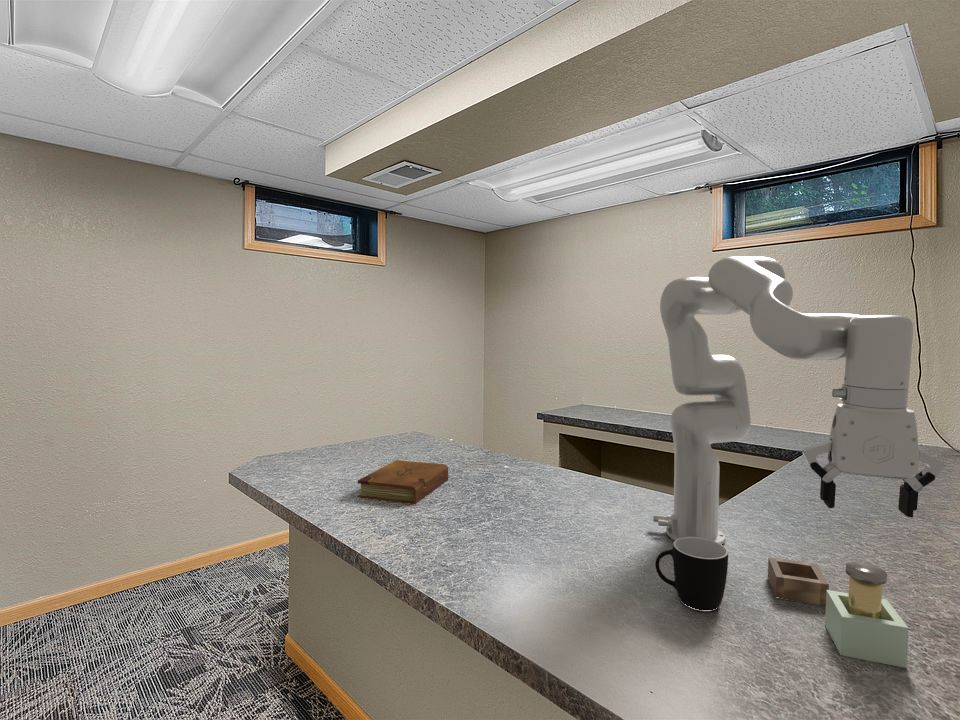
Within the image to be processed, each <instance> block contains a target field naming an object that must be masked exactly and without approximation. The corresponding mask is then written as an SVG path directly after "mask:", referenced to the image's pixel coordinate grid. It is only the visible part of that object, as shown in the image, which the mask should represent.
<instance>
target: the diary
mask: <svg viewBox="0 0 960 720" xmlns="http://www.w3.org/2000/svg"><path fill="white" fill-rule="evenodd" d="M448 480H449V466H448V465H447V464H442V463H432V462H421V461H411V460H401V459H400V460H398V459H395V460H394V461H392V462H390V463H388V464H386V465H384V466H382V467H380V468H378V469H376V470H375V471H373V472H371V473H369V474H367V475H366V476H363V477H362V478H360V479H358V480H357V484H360V494H359V495H358V496H357V498H358V497H360V498H359V499H365V498H368V499H367V500H373V499H377V500H376V501H381V500H384V501H383V502H389V501H392V502H391V503H397V502H401V503H400V504H405V503H410V504H409V505H413V504H415V505H416V504H418V503H419V502H420V501H422V500H423V499H424V498H426V497H427V496H429V495H430V494H431V493H432V492H433V490H434V491H435V490H437V489H438V488H439V487H441V486H442V485H443V484H444V483H445V481H446V482H447V481H448ZM441 484H442V485H441ZM437 487H438V488H437ZM429 493H430V494H429ZM425 496H426V497H425ZM421 499H422V500H421ZM417 502H418V503H417Z"/></svg>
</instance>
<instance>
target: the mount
mask: <svg viewBox="0 0 960 720" xmlns="http://www.w3.org/2000/svg"><path fill="white" fill-rule="evenodd" d="M768 578H769V579H768ZM767 579H768V581H769V580H770V582H769V584H770V583H771V584H770V586H772V587H771V589H773V590H772V592H773V594H775V595H774V598H775V597H779V598H783V599H782V600H785V599H788V600H787V601H791V600H793V601H792V602H797V601H798V603H804V604H811V605H816V606H821V607H826V590H830V589H829V588H830V584H829V582H828V581H827V579H826V577H825V576H824V574H823V572H822V571H821V569H820V567H819V565H818V563H812V562H811V563H810V562H804V561H798V560H792V559H791V560H790V559H784V558H776V557H771V556H768V561H767ZM779 598H778V599H779Z"/></svg>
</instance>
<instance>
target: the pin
mask: <svg viewBox="0 0 960 720" xmlns="http://www.w3.org/2000/svg"><path fill="white" fill-rule="evenodd" d="M845 573H846V574H847V575H848V577H849V579H848V593H849V596H848V613H849V614H853V615H859V616H865V617H871V618H877V619H881V603H882V599H883V585H884V584H886V583H887V582H888V573H887V571H886V570H884V569H883V568H881V567H880V566H876V565H873V564H871V563H868V562H867V563H866V562H861V561H849V562H847V563H846V564H845Z"/></svg>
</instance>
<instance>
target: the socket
mask: <svg viewBox="0 0 960 720" xmlns="http://www.w3.org/2000/svg"><path fill="white" fill-rule="evenodd" d="M848 596H849V592H842V591H836V590H830V589H829V590H826V606H825V617H824V618H825V620H824V626H825V627H826V629H827V632H828V634H829V635H830V638H831V640H832V642H833V641H834V642H833V644H834V645H836V646H835V648H836V647H837V648H836V650H837V649H838V650H837V652H838V651H839V652H838V654H839V653H840V654H839V656H842V655H843V656H842V657H847V658H851V659H852V658H853V659H858V660H862V661H863V660H864V661H868V662H874V663H879V664H883V665H884V664H885V665H890V666H895V667H900V668H906V669H907V666H908V665H907V664H908V649H909V646H908V645H909V632H910V630H909V629H910V628H909V626H908V625H907V624H906V622H905V621H904V620H903V618H901V616H900V615H899V614H898V612H897V611H896V610H895V608H894V607H893V605H892V604H891V603H890V602H889V600H888V599H886V598H882V603H881V619H877V618H871V617H865V616H859V615H853V614H849V613H848Z"/></svg>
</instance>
